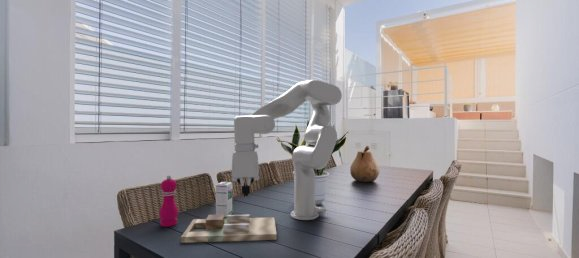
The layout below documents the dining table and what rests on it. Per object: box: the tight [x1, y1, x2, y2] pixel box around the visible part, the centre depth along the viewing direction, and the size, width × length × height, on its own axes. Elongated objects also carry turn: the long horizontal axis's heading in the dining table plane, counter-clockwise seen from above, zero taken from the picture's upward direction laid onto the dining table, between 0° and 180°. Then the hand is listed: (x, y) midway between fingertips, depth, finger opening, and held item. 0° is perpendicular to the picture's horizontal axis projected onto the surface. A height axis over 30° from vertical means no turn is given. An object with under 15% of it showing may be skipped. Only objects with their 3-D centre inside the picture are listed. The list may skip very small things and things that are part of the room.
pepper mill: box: [158, 174, 179, 228], centre depth 115 cm, size 7×7×20 cm
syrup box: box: [215, 181, 234, 218], centre depth 127 cm, size 6×6×14 cm
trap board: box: [180, 214, 277, 244], centre depth 108 cm, size 33×18×4 cm, turn 96°
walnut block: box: [205, 214, 225, 229], centre depth 107 cm, size 6×6×4 cm
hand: (246, 195), depth 108 cm, fingers closed
